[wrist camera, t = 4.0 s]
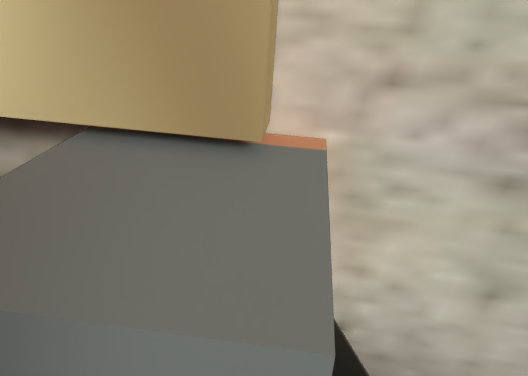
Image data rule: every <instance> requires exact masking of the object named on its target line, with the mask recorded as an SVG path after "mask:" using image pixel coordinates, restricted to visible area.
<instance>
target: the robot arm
mask: <svg viewBox="0 0 528 376" xmlns="http://www.w3.org/2000/svg"><path fill="white" fill-rule="evenodd" d="M334 337H335V360H334V366H333V372H332V376H369V374H368V373H367V371H366V370H365V368H364V366H363V365H362V363H361V361H360V360H359V358H358V357H357V355H356V353H355V352H354V350H353V348H352V347H351V345H350V344H349V342H348V340H347V339H346V337H345V336H344V334H343V332H342V331H341V329H340V327H339V326H338V324H337V323H336V321H335V319H334Z"/></svg>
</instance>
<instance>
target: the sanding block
mask: <svg viewBox="0 0 528 376" xmlns="http://www.w3.org/2000/svg"><path fill="white" fill-rule="evenodd" d="M334 360H335V337H334V314H333V290H332V267H331V243H330V220H329V196H328V173H327V149H326V139H319V138H308V137H298V136H288V135H277V134H267V133H265V134H264V136H263V139H262V141H261V142H254V141H244V140H234V139H223V138H213V137H203V136H193V135H183V134H173V133H162V132H152V131H142V130H132V129H122V128H112V127H101V126H90V127H88V128H87V129H85V130H83V131H81V132H80V133H78V134H76V135H74V136H73V137H71V138H69V139H67V140H65V141H64V142H62V143H60V144H58V145H57V146H55V147H53V148H51V149H50V150H48V151H46V152H44V153H43V154H41V155H39V156H37V157H36V158H34V159H32V160H30V161H29V162H27V163H25V164H23V165H22V166H20V167H18V168H16V169H15V170H13V171H11V172H9V173H8V174H6V175H4V176H2V177H1V178H0V376H332V372H333V366H334Z"/></svg>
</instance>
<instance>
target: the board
mask: <svg viewBox="0 0 528 376" xmlns="http://www.w3.org/2000/svg"><path fill="white" fill-rule="evenodd" d="M277 11H278V0H0V117H10V118H20V119H30V120H40V121H50V122H61V123H71V124H81V125H91V126H101V127H112V128H122V129H132V130H142V131H152V132H162V133H173V134H183V135H193V136H203V137H213V138H223V139H234V140H244V141H254V142H261V141H262V139H263V136H264V134H265V131H266V129H267V126H268V124H269V121H270V110H271V96H272V82H273V68H274V53H275V39H276V25H277Z"/></svg>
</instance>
